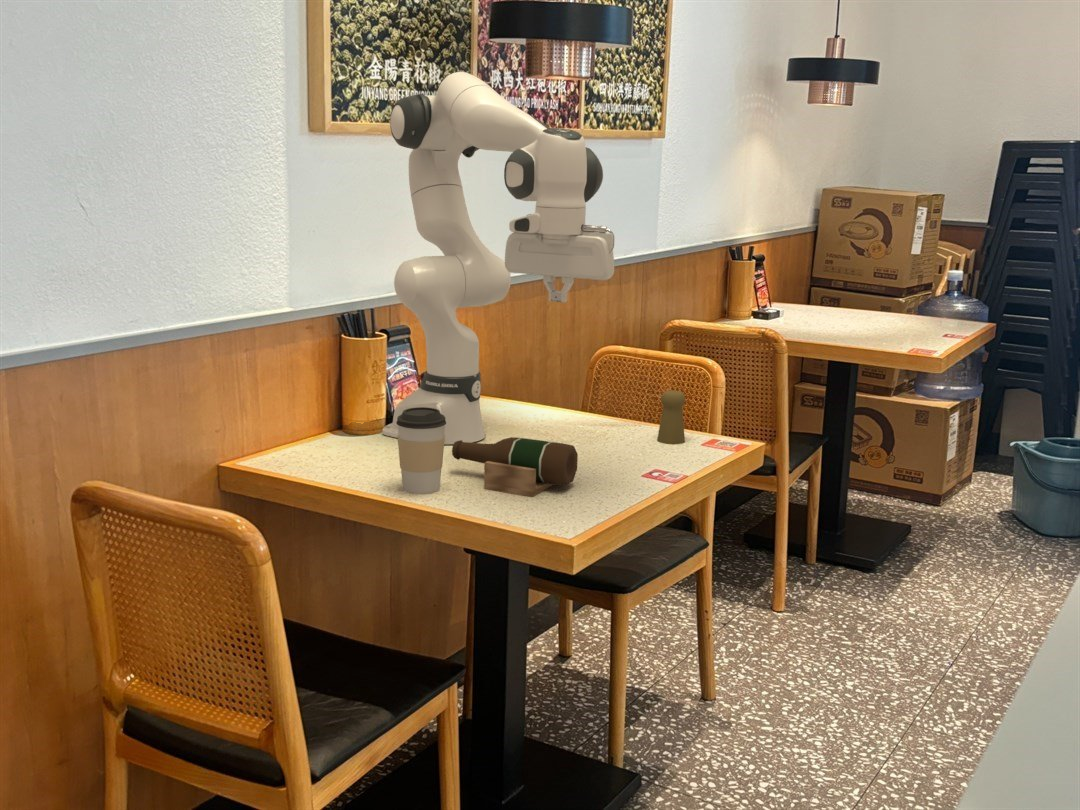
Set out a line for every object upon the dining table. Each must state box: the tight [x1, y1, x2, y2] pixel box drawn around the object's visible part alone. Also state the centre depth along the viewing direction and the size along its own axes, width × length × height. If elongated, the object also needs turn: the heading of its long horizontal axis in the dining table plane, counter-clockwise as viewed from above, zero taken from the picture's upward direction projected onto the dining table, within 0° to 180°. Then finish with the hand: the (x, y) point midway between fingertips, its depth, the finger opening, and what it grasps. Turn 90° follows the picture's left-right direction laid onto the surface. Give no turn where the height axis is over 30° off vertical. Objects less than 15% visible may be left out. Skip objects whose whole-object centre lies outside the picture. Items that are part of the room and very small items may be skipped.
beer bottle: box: [451, 436, 579, 486], centre depth 216 cm, size 8×8×24 cm
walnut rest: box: [483, 461, 554, 498], centre depth 215 cm, size 10×12×5 cm
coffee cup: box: [396, 407, 446, 495], centre depth 210 cm, size 9×9×15 cm
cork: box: [656, 389, 686, 445], centre depth 248 cm, size 6×6×11 cm
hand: (557, 301), depth 205 cm, fingers closed
